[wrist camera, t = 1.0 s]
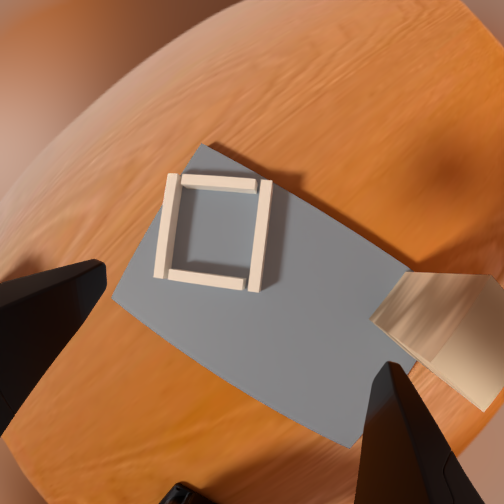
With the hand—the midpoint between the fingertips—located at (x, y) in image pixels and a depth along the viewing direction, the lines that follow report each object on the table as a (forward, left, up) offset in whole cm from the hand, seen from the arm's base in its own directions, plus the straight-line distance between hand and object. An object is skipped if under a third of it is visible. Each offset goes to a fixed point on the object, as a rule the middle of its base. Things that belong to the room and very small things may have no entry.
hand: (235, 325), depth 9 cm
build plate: (-1, -1, -16) cm, 16 cm away
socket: (+1, +6, -16) cm, 17 cm away
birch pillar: (+4, -10, -15) cm, 19 cm away
